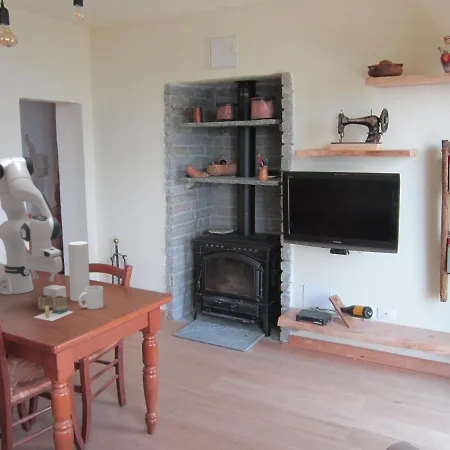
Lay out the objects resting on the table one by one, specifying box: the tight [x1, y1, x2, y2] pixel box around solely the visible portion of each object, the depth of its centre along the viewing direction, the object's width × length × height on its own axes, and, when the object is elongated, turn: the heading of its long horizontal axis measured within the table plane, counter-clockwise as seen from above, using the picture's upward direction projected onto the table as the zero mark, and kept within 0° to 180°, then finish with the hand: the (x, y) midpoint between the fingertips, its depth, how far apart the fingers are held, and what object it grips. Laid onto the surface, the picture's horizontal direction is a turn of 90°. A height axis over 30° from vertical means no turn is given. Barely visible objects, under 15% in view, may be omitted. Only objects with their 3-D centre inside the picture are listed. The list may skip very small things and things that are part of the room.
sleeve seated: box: [51, 296, 69, 314], centre depth 239 cm, size 5×5×7 cm
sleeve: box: [37, 294, 53, 312], centre depth 244 cm, size 5×5×7 cm
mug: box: [78, 285, 104, 310], centre depth 246 cm, size 12×8×10 cm
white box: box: [43, 284, 67, 306], centre depth 252 cm, size 8×7×9 cm
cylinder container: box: [67, 240, 90, 302], centre depth 258 cm, size 9×9×30 cm
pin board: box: [33, 306, 74, 322], centre depth 235 cm, size 11×14×6 cm
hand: (43, 280), depth 242 cm, fingers open, 8 cm apart
